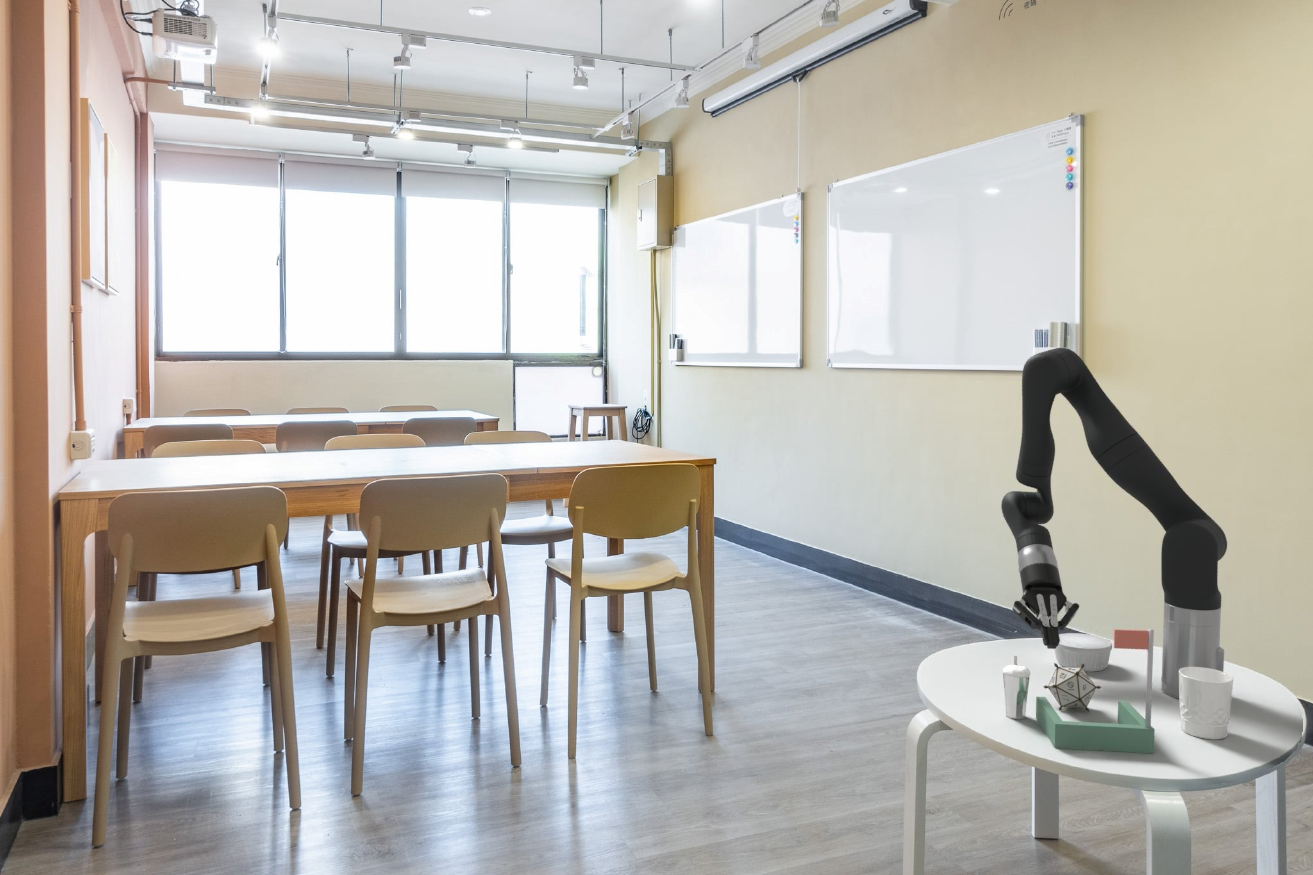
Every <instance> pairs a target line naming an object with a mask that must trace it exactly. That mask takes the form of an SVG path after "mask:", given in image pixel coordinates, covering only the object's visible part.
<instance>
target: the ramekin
mask: <svg viewBox="0 0 1313 875" xmlns="http://www.w3.org/2000/svg"><path fill="white" fill-rule="evenodd" d="M1059 638H1060V642H1059V645H1058V646H1057V647H1056V649H1054V654H1055V658H1056V662H1057V663H1058V664H1059V665H1060V666H1061V667H1081V665H1082V664H1084V667H1083V669H1084V671H1085V672H1086V673H1090V672H1102V671H1104V670H1105V669H1106V668H1107V666H1108V664H1109V661H1110V656H1111V653H1112V652H1111V651H1112V650H1113V643H1112V641H1110V640H1108V639H1107V638H1104V637H1102V636H1098V635H1094V634H1086V633H1080V632H1079V633H1078V632H1077V633H1074V632H1067V633H1059Z"/></svg>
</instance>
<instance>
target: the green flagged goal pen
mask: <svg viewBox="0 0 1313 875" xmlns="http://www.w3.org/2000/svg"><path fill="white" fill-rule="evenodd" d="M1154 631H1155V630H1154V629H1152V628H1148V629H1147V630H1146V629H1145V630H1141V629H1139V630H1138V629H1115V628H1114V630H1113V649H1124V650H1125V649H1126V650H1146V651H1147V654H1146V681H1145V682H1146V683H1145V684H1146V685H1145V716H1144V717H1143V715H1142V714H1141V713H1140V712H1139V711H1137V709H1136V708H1135V707H1134V706H1133V705H1132V703H1130V702H1129V701H1128V700H1118V701H1117V723H1111V722H1110V723H1105V722H1090V721H1089V722H1088V721H1087V722H1085V721H1072V720H1071V721H1070V720H1062V718H1061V716H1060V715H1059V714H1058V712H1057V711H1056V710H1055V709H1054V707H1053V706H1052V704H1051V702H1050V701H1049V700H1048V698H1047V697H1046V696H1036V698H1035V700H1036V701H1035V720H1036V721H1037V723H1038V725H1039V726H1040V727H1041V729H1042V730H1043V732H1044V733H1045V735H1046V737H1047V738H1048V740H1049V741H1050V743H1051V744H1052V746H1053V747H1054V748H1055V749H1070V750H1071V749H1072V750H1088V751H1102V752H1118V753H1120V752H1121V753H1138V754H1139V753H1140V754H1152V755H1153V754H1155V731H1156V730H1155V728H1154V727H1153V725H1151V724H1152V698H1153V696H1152V695H1153V694H1152V692H1153V671H1154V670H1153V665H1154V637H1155V635H1154V634H1155V633H1154Z"/></svg>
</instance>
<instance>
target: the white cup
mask: <svg viewBox="0 0 1313 875" xmlns="http://www.w3.org/2000/svg"><path fill="white" fill-rule="evenodd" d="M1233 686H1234V676H1232V675H1231V674H1229V673H1227V672H1224V671H1223V672H1222V671H1218V670H1214V669H1209V668H1202V667H1185V668H1181V669H1180V670H1179V698H1178V700H1179V702H1178V703H1179V713H1180V728H1181V730H1182V731H1183V732H1184V733H1186V734H1188V735H1189V736H1193V737H1195V738H1201V739H1206V740H1222V739H1225V738H1227V736H1228V728H1229V726H1228V725H1229V721H1230V717H1231V716H1230V715H1231V707H1232V699H1233V698H1232V697H1233V689H1234V688H1233Z"/></svg>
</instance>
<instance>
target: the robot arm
mask: <svg viewBox="0 0 1313 875" xmlns="http://www.w3.org/2000/svg"><path fill="white" fill-rule="evenodd" d="M1060 394H1061V395H1062V396H1063V397H1064V398H1065V399H1066V401H1067V402H1068V403H1069V405H1071V406H1072V408H1073V409H1074V410H1075V412H1076V413H1077V415H1078V416H1079V419H1080V421H1081V424H1082V427H1083V432H1084V437H1085V441H1086V446H1088V449H1089V452H1090V454H1091V456H1092V457H1093V458H1094V459H1095V461H1096V462H1097V464H1099V466H1100V467H1101V469H1102V470H1103V471H1104V472H1105V473H1106V474H1107V476H1108V477H1109V478H1110V479H1111V480H1112V481H1113V482H1114V483H1115V484H1116V485H1118V486H1119V487H1120V488H1121V489H1122V490H1123V491H1125V492H1126V493H1127V494H1128V495H1130V496H1131V497H1132V498H1134V500H1136V501H1138V502H1139V503H1140V504H1142V505H1143V506H1144V507H1145V508H1146V509H1148V510H1147V511H1149V512H1150V513H1151V514H1152V515H1153V516H1154V518H1155V519H1156V520H1157V522H1158V523H1159V524H1160V526H1161V527H1162V529H1163V530H1164V531H1165V533H1164V535H1163V538H1162V541H1161V555H1160V556H1161V558H1160V559H1161V560H1160V563H1161V564H1160V566H1161V568H1160V570H1161V572H1160V574H1161V580H1160V581H1161V587H1162V588H1161V589H1162V590H1163V595H1164V596H1163V598H1164V600H1163V627H1162V628H1163V630H1162V656H1161V657H1162V658H1161V659H1162V660H1161V676H1160V677H1161V679H1160V680H1161V681H1160V682H1161V690H1162V692H1163V693H1164V694H1167V695H1168V696H1171V697H1174V698H1177V699H1179V670H1180V669H1181V668H1185V667H1202V668H1209V669H1214V670H1218V671H1222V672H1224V669H1225V668H1224V665H1225V663H1224V662H1225V650H1224V648H1222V647H1221V646H1220V643H1221V614H1222V611H1221V610H1222V593H1221V592H1220V589H1219V585H1218V575H1219V574H1218V570H1219V569H1218V568H1219V561H1220V560H1221V559H1222V558H1223V557H1224V556H1225V554H1227V553H1226V552H1227V548H1228V540H1227V537H1226V533H1225V532H1224V531H1223V529H1222V527H1221V526H1220V525H1219V524H1218V523H1217V522H1216V521H1215V520H1214V519H1213V518H1212V517H1211V516H1209V515H1208V514H1207V512H1205V511H1204V510H1203V509H1202V508H1201V507H1200V506H1199V505H1198V504H1197V503H1196V502H1195V501H1194V500H1193V499H1192V498H1191V497H1190V496H1189V495H1188V494H1187V493H1186V492H1185V491H1184V489H1183V488H1182V487H1181V485H1180V484H1179V483H1178V482H1177V480H1176V478H1174V476H1173V475H1172V474H1171V472H1170V471H1169V469H1168V468H1167V467H1166V466H1165V465H1164V463H1163V462H1162V461H1161V459H1160V458H1159V457H1158V455H1156V453H1155V452H1154V451H1153V449H1152V448H1151V446H1150V445H1148V443H1147V442H1146V441H1145V440H1144V438H1143V437H1142V436H1141V435H1140V434H1139V432H1138V431H1137V430H1136V429H1135V428H1134V427H1133V425H1131V423H1130V422H1129V421H1128V420H1127V419H1126V417H1125V416H1124V415H1123V414H1122V413H1121V411H1120V410H1119V408H1118V407H1117V406H1116V405H1115V404H1114V403H1113V402H1112V401H1111V399H1110V398H1109V397H1108V395H1107V394H1106V393H1105V392H1104V390H1103V388H1102V387H1101V386H1100V384H1099V383H1098V381H1097V379H1096V378H1095V377H1094V375H1093V373H1092V372H1091V371H1090V369H1089V367H1088V366H1087V365H1086V363H1085V361H1084V360H1083V359H1082V358H1081V357H1080V355H1078V354H1077V353H1076V352H1075V351H1073V350H1072V349H1070V348H1067V347H1056V348H1051V349H1049V350H1044V351H1041V352H1038V353H1035V354H1034V355H1031V356H1030V357H1029V358H1028V359H1027V360H1026V361H1025V363H1024V365H1023V368H1022V375H1021V396H1022V398H1021V400H1022V401H1021V404H1022V405H1021V406H1022V407H1021V408H1022V409H1021V410H1022V411H1021V416H1022V417H1021V418H1022V420H1021V423H1022V424H1021V439H1020V447H1019V454H1018V458H1017V466H1016V470H1015V471H1016V472H1015V479H1016V481H1017V482H1018V483H1019V484H1021V485H1023V486H1026V487H1028V488H1032V489H1035V490H1036V491H1021V490H1019V491H1018V490H1017V491H1016V490H1012V491H1009V492H1007V493H1005V495H1004V496H1003V497H1002V500H1001V507H1000V508H1001V513H1002V516H1003V518H1004V521H1005V522H1006V525H1008V528H1009V529H1010V531H1011V533H1012V536H1013V537H1014V541H1015V543H1016V549H1017V550H1016V551H1017V558H1018V559H1017V562H1018V564H1017V565H1018V573H1019V576H1020V583H1021V590H1022V596H1021V599H1020V600H1015V601H1014V604H1013V607H1012V611H1013V612H1014V613H1015V614H1016V615H1017V616H1018V617H1019V618H1020V619H1021V620H1022V621H1023V622H1025V624H1027V625H1028V627H1030V628H1031V629H1033V630H1039V631H1040V632H1041V639H1042V642H1043V645H1044V646H1046V647H1047V649H1048V650H1049V649H1053V650H1055V649H1056V647H1057V646H1058V645H1059V642H1060V638H1059V634H1060V633H1059V631H1064V630H1065V629H1066V628H1067V626H1068V625H1069V624H1070V622H1071V621H1072V620H1073V619H1074V617H1075V616H1076V615H1077V613H1078V610H1079V608H1080V604H1079V603H1077V602H1074V603H1072V602H1071V601H1069V600H1068V598H1067V596H1066V594H1065V593H1064V592H1063V585H1062V581H1061V577H1060V571H1059V565H1058V560H1057V558H1056V555H1055V552H1054V547H1053V542H1052V538H1051V534H1050V533H1051V532H1050V531H1049V529H1048V528H1047V527H1045V526H1044V525H1045V524H1047V523H1049V522H1050V520H1052V519H1053V516H1054V513H1055V510H1054V501H1053V496H1052V487H1051V486H1052V484H1051V483H1052V473H1053V468H1054V462H1055V455H1056V443H1055V439H1054V435H1053V431H1052V426H1051V413H1052V412H1051V411H1052V408H1053V404H1054V401H1055V398H1056V396H1057V395H1060ZM1063 608H1064V612H1065V614H1064V615H1063V617H1061V619H1060V620H1059V618H1058V615H1059V613H1061V611H1062V609H1063Z"/></svg>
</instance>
